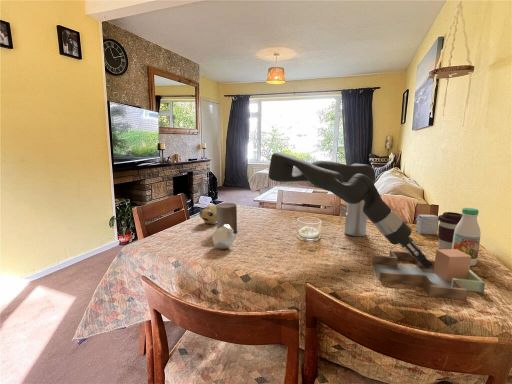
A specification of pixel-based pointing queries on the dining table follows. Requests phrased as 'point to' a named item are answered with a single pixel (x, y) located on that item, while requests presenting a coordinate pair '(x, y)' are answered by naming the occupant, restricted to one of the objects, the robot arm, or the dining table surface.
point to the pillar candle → (227, 215)
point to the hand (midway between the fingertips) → (429, 266)
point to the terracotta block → (452, 264)
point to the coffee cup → (447, 228)
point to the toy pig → (209, 214)
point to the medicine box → (427, 224)
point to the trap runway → (416, 276)
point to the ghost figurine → (223, 237)
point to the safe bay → (472, 282)
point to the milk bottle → (468, 234)
